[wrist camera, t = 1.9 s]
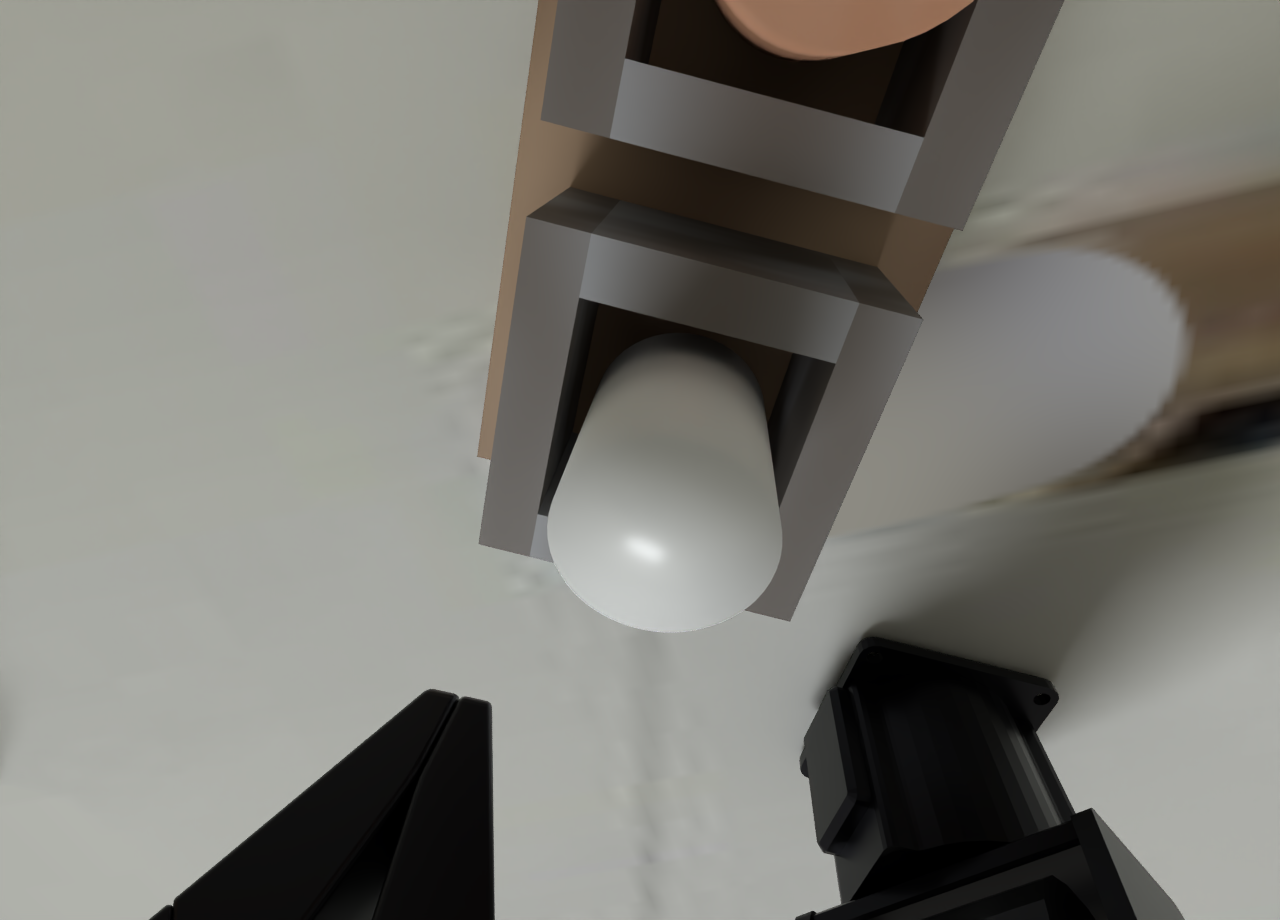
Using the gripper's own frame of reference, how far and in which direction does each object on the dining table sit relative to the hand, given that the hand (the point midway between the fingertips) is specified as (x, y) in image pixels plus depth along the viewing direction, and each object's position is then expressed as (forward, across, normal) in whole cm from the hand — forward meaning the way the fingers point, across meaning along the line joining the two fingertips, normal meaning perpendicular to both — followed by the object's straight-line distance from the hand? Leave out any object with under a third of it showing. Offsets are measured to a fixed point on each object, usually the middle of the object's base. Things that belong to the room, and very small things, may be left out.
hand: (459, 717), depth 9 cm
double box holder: (+12, -2, -6) cm, 13 cm away
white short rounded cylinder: (+8, -2, -1) cm, 9 cm away
